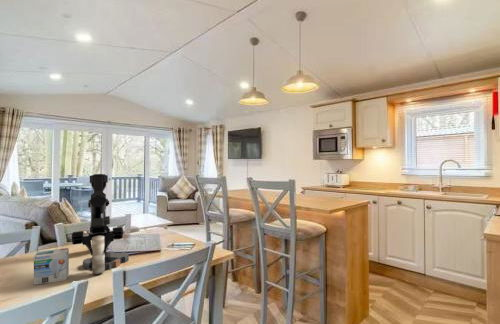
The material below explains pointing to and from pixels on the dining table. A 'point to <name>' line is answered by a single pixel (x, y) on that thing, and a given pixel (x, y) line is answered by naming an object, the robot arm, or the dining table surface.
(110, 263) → the pixel heart plate
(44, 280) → the light bulb box
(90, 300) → the dining table surface
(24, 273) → the dining table surface
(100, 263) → the pin
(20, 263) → the dining table surface
